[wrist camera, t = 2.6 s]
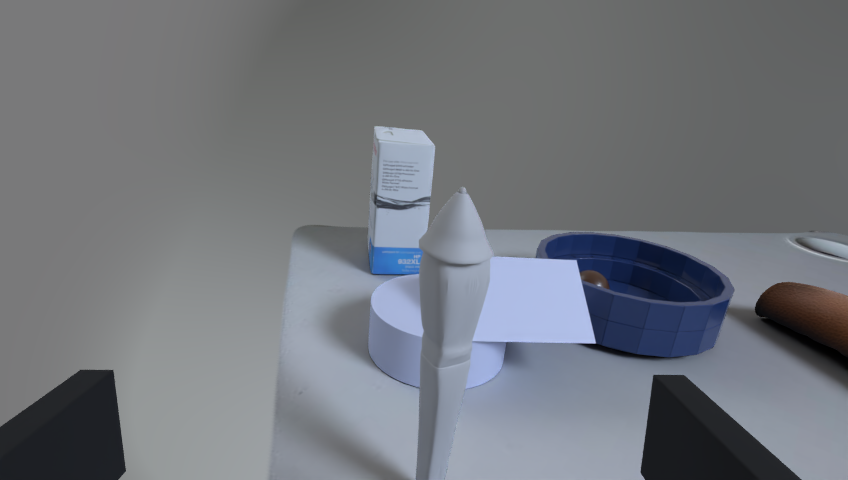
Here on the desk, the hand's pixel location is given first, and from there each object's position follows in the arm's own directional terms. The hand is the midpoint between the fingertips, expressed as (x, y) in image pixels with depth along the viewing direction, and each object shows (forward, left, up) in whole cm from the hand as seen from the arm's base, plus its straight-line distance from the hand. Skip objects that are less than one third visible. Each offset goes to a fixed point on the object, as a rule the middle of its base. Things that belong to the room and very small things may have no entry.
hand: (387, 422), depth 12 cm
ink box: (-22, +25, -10) cm, 35 cm away
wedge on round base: (-8, +17, -10) cm, 21 cm away
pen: (-2, +6, -10) cm, 12 cm away
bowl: (-2, +31, -9) cm, 32 cm away
